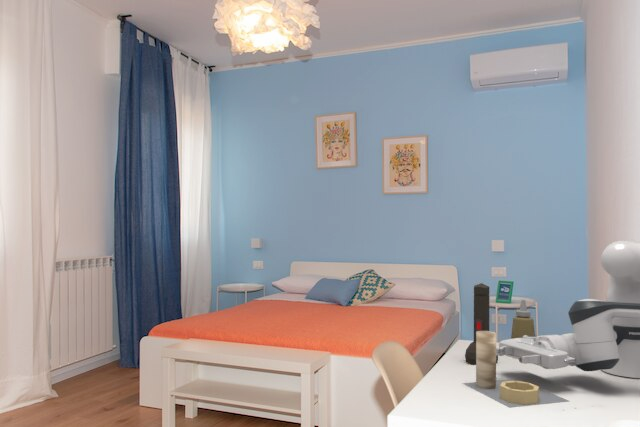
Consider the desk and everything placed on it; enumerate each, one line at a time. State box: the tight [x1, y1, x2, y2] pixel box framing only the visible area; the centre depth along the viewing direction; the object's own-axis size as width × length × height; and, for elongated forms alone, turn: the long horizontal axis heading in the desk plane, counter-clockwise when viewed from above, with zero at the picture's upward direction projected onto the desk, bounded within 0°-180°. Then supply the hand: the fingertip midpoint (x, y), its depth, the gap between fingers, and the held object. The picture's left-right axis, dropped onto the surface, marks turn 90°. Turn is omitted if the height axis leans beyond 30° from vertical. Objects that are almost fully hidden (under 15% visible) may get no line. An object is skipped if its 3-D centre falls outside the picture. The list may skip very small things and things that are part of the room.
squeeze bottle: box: [510, 299, 536, 339], centre depth 184 cm, size 8×8×18 cm
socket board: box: [462, 378, 569, 408], centre depth 138 cm, size 17×20×4 cm
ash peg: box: [475, 330, 497, 389], centre depth 143 cm, size 5×5×14 cm
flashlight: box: [464, 282, 499, 366], centre depth 172 cm, size 10×25×10 cm
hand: (508, 356), depth 145 cm, fingers open, 8 cm apart
